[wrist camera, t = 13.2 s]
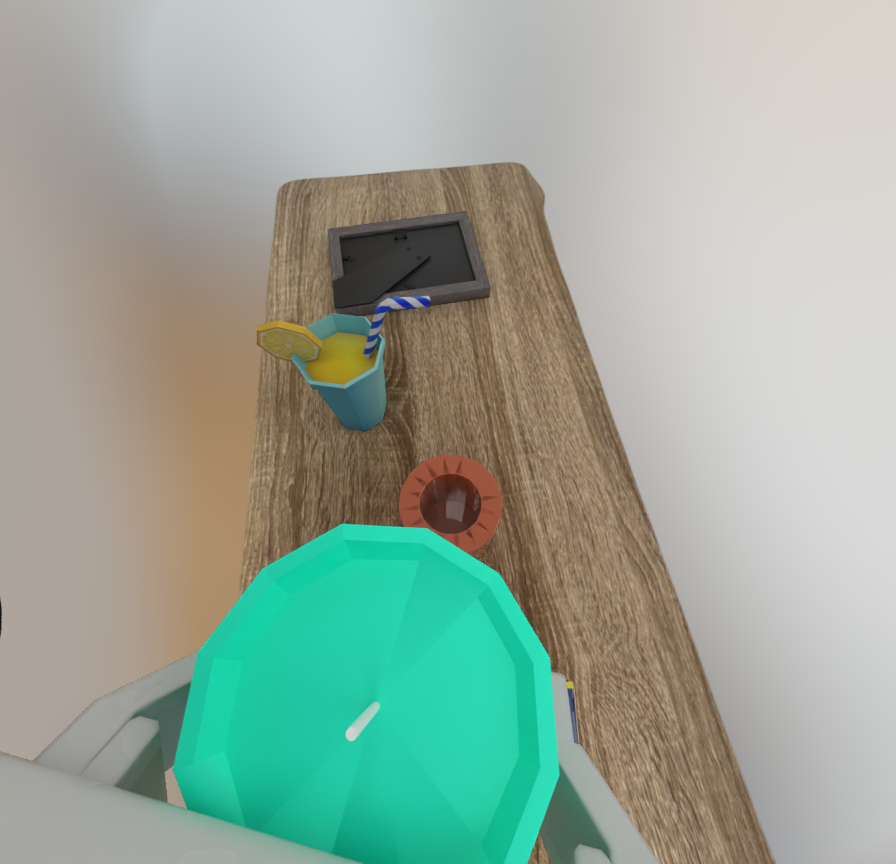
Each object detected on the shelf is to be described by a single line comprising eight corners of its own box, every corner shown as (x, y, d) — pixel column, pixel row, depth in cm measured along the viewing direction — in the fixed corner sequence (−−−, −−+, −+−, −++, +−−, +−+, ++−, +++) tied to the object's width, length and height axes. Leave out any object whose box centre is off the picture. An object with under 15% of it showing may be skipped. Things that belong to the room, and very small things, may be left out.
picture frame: (339, 319, 49) (489, 297, 51) (334, 307, 47) (490, 284, 49) (330, 239, 55) (466, 221, 56) (326, 225, 53) (466, 207, 54)
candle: (325, 600, 17) (114, 552, 6) (469, 563, 18) (509, 459, 7) (347, 782, 15) (59, 1242, 4) (513, 730, 15) (687, 990, 4)
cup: (426, 363, 47) (418, 255, 33) (443, 425, 43) (441, 332, 30) (299, 390, 45) (236, 287, 32) (307, 455, 42) (240, 373, 28)
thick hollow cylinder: (403, 567, 38) (393, 552, 30) (411, 483, 41) (404, 452, 34) (491, 572, 37) (502, 559, 30) (491, 487, 41) (502, 457, 33)
